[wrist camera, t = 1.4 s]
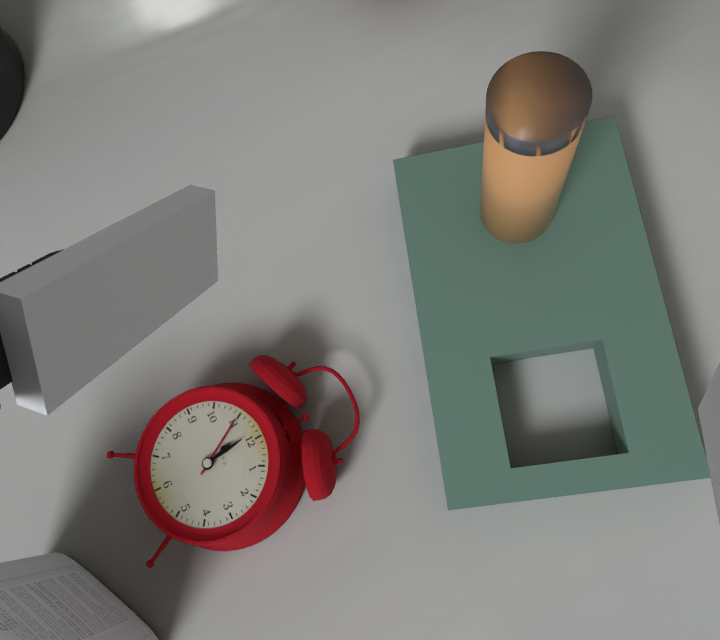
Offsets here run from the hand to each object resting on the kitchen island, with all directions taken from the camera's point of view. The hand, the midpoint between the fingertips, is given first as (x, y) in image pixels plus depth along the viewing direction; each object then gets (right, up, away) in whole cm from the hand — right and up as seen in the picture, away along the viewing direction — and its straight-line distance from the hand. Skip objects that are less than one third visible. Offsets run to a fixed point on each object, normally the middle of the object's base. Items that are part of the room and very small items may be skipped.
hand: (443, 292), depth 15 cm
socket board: (+9, 0, +23) cm, 25 cm away
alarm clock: (-9, -9, +25) cm, 28 cm away
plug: (+8, +6, +23) cm, 25 cm away
